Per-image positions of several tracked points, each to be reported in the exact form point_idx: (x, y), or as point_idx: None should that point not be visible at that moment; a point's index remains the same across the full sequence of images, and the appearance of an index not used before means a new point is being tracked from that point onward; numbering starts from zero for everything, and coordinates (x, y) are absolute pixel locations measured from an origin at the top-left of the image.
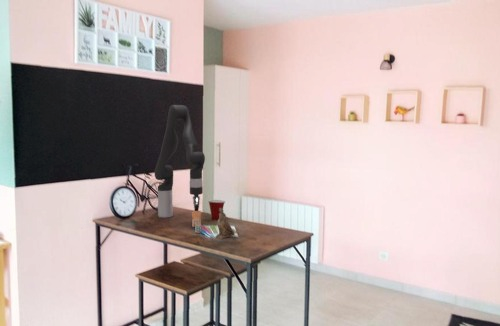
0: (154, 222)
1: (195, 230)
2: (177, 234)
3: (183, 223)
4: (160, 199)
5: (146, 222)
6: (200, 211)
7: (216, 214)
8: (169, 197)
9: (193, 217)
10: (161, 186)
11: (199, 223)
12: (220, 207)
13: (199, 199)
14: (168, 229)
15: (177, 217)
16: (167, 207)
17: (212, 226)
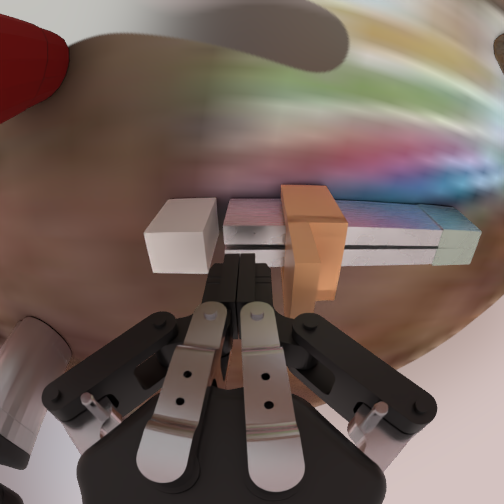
0: None
1: None
2: (414, 318)
3: (165, 290)
4: (42, 421)
5: None
6: (319, 262)
7: (45, 57)
8: (14, 406)
9: (321, 291)
10: (20, 469)
11: (434, 234)
12: (1, 21)
13: (301, 447)
14: None
15: (46, 303)
16: (42, 374)
17: (295, 82)
